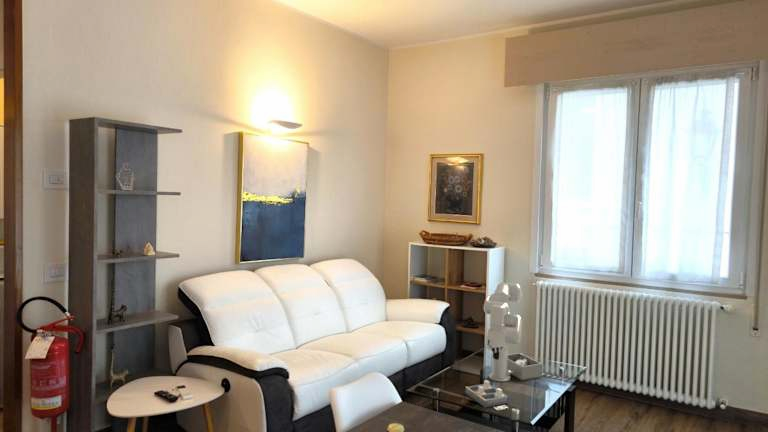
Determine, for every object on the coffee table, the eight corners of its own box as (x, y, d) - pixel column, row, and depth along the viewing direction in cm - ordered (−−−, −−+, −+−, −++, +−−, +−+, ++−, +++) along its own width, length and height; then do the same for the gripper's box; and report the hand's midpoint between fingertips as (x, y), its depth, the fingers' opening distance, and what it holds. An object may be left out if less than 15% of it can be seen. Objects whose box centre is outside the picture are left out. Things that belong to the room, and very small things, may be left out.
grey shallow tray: (487, 389, 306) (487, 382, 306) (508, 402, 287) (508, 396, 287) (465, 393, 300) (465, 386, 300) (484, 407, 282) (485, 400, 281)
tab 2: (487, 388, 303) (487, 379, 303) (491, 390, 300) (492, 382, 299) (481, 389, 302) (481, 380, 302) (485, 391, 298) (485, 383, 298)
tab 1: (481, 394, 295) (482, 385, 295) (486, 397, 291) (486, 388, 291) (475, 395, 293) (475, 386, 293) (479, 398, 290) (480, 389, 289)
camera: (523, 376, 325) (524, 360, 324) (511, 374, 329) (512, 358, 328) (531, 369, 337) (531, 353, 337) (519, 366, 341) (519, 351, 341)
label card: (504, 405, 284) (504, 404, 284) (508, 408, 281) (508, 407, 281) (493, 407, 281) (493, 407, 281) (497, 410, 278) (497, 409, 278)
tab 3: (499, 396, 292) (500, 387, 292) (504, 399, 289) (504, 390, 288) (493, 397, 291) (494, 388, 291) (498, 400, 287) (498, 391, 287)
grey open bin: (519, 364, 346) (520, 352, 345) (542, 376, 326) (542, 363, 325) (500, 367, 340) (500, 355, 340) (522, 380, 320) (522, 367, 319)
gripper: (503, 324, 307) (503, 355, 308) (481, 326, 301) (481, 358, 302) (511, 327, 300) (511, 359, 301) (489, 330, 294) (488, 362, 295)
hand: (496, 358), depth 302 cm, fingers closed
